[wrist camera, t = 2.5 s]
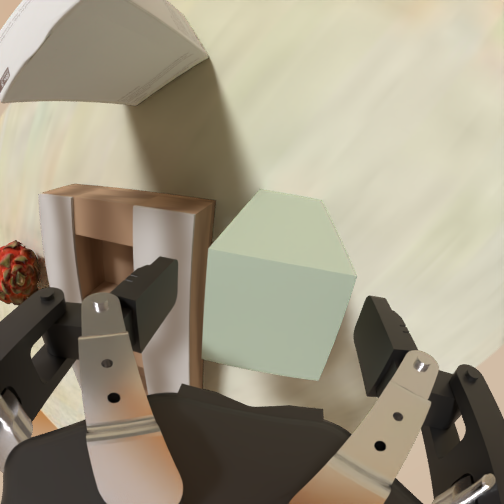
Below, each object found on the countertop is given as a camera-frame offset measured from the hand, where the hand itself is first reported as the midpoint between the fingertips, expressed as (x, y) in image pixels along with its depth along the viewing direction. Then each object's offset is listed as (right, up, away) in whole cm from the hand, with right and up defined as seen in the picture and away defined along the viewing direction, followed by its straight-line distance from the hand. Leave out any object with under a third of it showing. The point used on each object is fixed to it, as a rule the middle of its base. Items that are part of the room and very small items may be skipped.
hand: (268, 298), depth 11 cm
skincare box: (-9, +19, +8) cm, 22 cm away
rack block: (-13, -4, +17) cm, 22 cm away
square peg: (+2, +4, +12) cm, 12 cm away
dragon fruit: (-32, 0, +19) cm, 37 cm away
